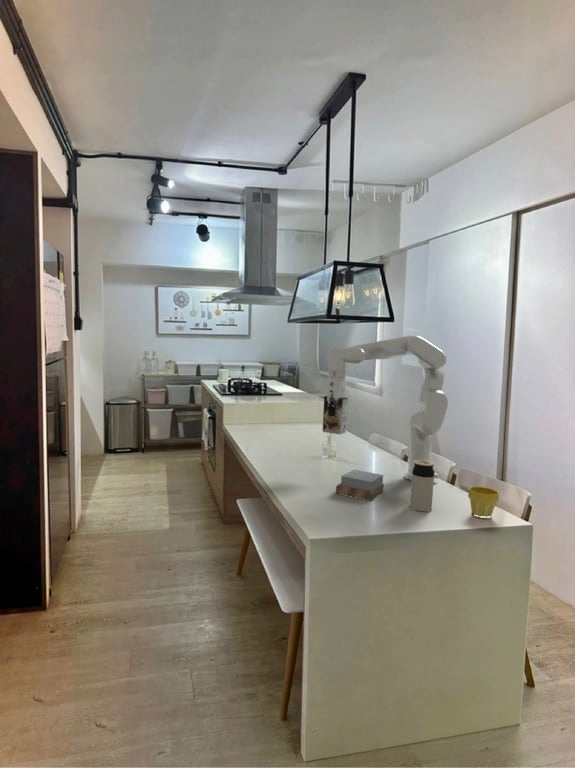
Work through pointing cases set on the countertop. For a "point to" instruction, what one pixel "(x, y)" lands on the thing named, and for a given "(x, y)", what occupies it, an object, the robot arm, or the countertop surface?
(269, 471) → the countertop surface
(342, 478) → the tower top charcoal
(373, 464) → the countertop surface
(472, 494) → the plant pot
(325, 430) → the coffee box
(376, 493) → the tower base walnut
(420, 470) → the travel mug
